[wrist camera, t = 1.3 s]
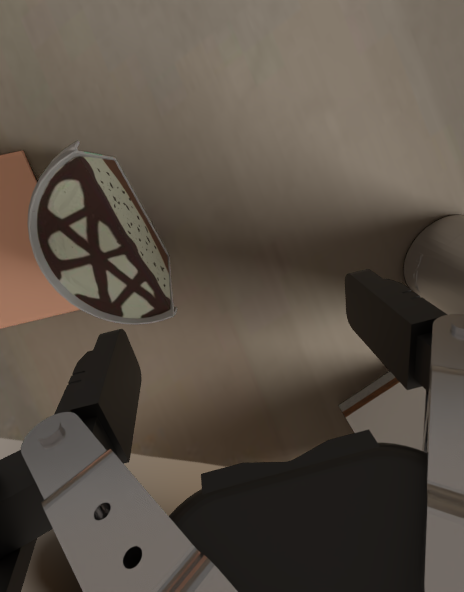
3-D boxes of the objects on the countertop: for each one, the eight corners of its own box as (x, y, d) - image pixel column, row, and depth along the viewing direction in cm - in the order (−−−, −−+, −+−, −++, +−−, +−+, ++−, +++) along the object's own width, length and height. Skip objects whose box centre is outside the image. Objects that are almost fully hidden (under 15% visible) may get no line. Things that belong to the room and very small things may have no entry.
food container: (35, 171, 26) (-36, 191, 17) (104, 138, 26) (67, 140, 17) (119, 295, 32) (98, 358, 23) (177, 269, 32) (177, 322, 23)
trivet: (23, 150, 26) (21, 150, 25) (92, 305, 32) (91, 306, 32) (-116, 180, 25) (-119, 180, 25) (-18, 331, 31) (-19, 333, 31)
